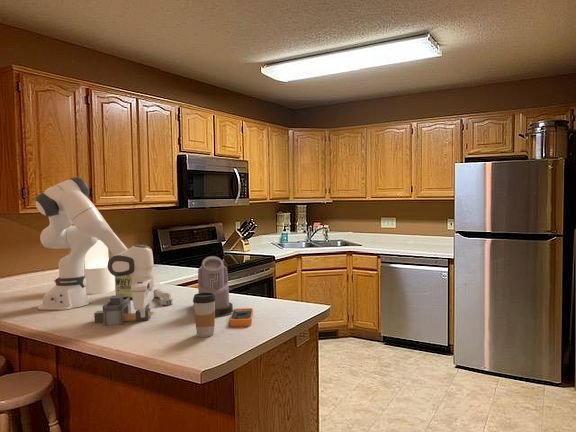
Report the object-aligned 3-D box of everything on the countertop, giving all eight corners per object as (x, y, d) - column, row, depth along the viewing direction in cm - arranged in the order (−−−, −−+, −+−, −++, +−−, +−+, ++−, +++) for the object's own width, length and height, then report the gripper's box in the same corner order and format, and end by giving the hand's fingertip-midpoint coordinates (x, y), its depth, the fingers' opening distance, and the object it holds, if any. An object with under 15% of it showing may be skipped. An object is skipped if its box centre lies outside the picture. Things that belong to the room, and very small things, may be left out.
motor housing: (103, 325, 183) (102, 301, 182) (114, 315, 198) (113, 293, 197) (121, 324, 183) (119, 300, 183) (131, 315, 198) (129, 292, 198)
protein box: (115, 299, 230) (113, 269, 229) (133, 292, 245) (132, 264, 244) (133, 300, 227) (131, 269, 226) (150, 293, 242) (149, 264, 241)
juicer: (235, 316, 192) (233, 259, 191) (196, 319, 188) (194, 261, 187) (228, 300, 221) (226, 250, 220) (195, 302, 218) (193, 252, 216)
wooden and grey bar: (94, 323, 187) (93, 313, 187) (98, 320, 192) (97, 310, 191) (151, 320, 189) (151, 310, 189) (154, 317, 193) (153, 307, 193)
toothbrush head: (161, 288, 236) (173, 289, 215) (162, 300, 236) (174, 304, 214) (151, 289, 234) (162, 291, 212) (152, 302, 233) (163, 305, 212)
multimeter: (229, 328, 176) (229, 319, 175) (233, 315, 194) (233, 307, 193) (251, 327, 176) (251, 318, 176) (253, 315, 194) (253, 307, 194)
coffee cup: (195, 331, 171) (194, 292, 171) (217, 330, 172) (216, 291, 171) (192, 338, 163) (191, 297, 162) (216, 337, 164) (214, 296, 163)
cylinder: (74, 293, 248) (71, 242, 247) (98, 286, 264) (96, 239, 263) (98, 294, 242) (96, 243, 240) (121, 288, 258) (119, 239, 256)
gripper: (142, 278, 200) (143, 309, 201) (129, 288, 180) (130, 322, 181) (156, 278, 201) (157, 308, 201) (145, 287, 180) (146, 321, 181)
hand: (144, 315), depth 191 cm, fingers closed on wooden and grey bar, 4 cm apart
